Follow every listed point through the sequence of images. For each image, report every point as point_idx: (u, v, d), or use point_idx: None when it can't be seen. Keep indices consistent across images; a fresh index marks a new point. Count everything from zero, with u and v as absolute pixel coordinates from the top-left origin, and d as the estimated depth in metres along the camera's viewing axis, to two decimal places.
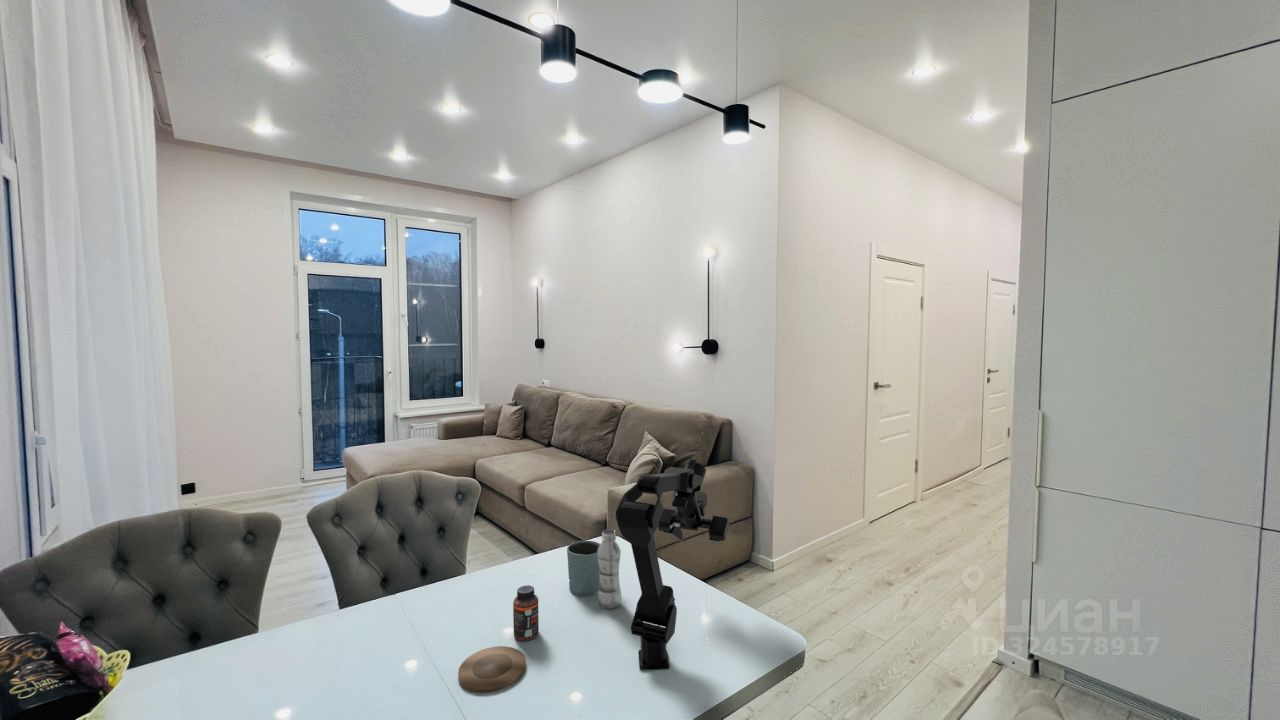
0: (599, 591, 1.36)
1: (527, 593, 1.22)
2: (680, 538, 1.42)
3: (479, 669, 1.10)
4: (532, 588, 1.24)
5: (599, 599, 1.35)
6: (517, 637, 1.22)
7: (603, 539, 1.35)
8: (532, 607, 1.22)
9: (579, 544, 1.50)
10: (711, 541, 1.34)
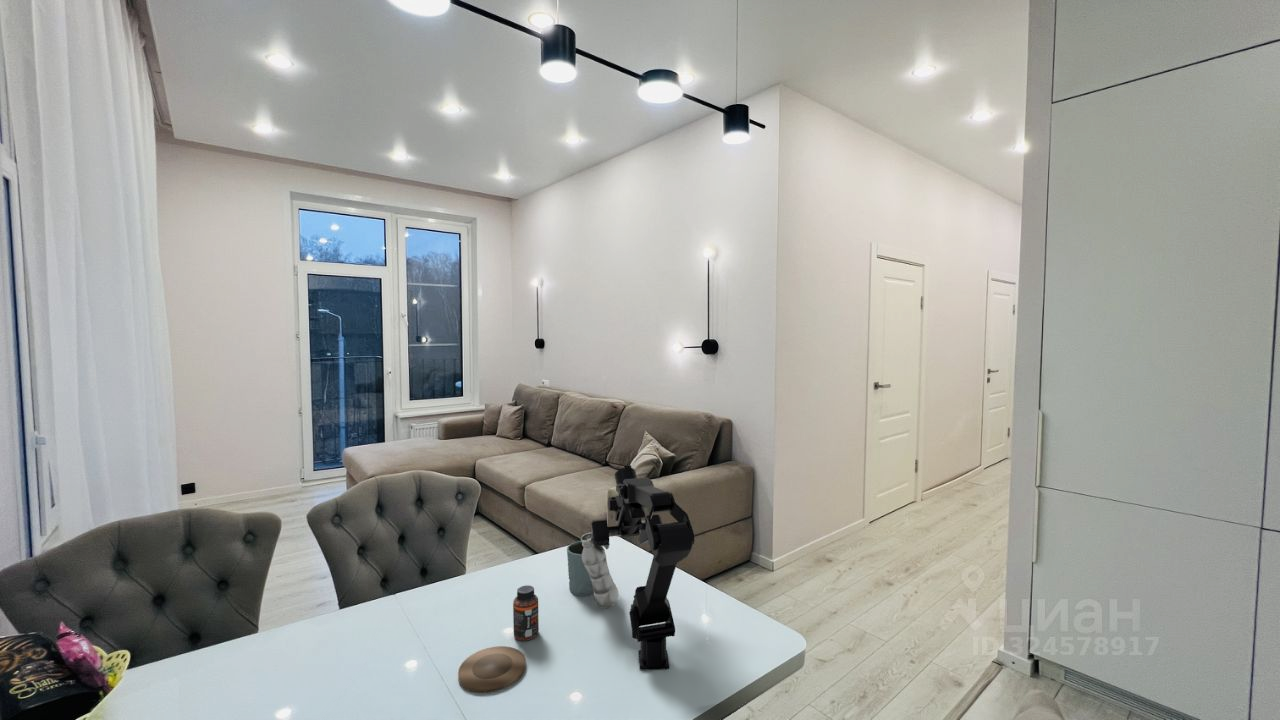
0: (594, 593, 1.35)
1: (527, 593, 1.22)
2: None
3: (479, 669, 1.10)
4: (532, 588, 1.24)
5: (596, 601, 1.35)
6: (517, 637, 1.22)
7: (583, 545, 1.33)
8: (532, 607, 1.22)
9: (579, 544, 1.50)
10: (647, 541, 1.36)
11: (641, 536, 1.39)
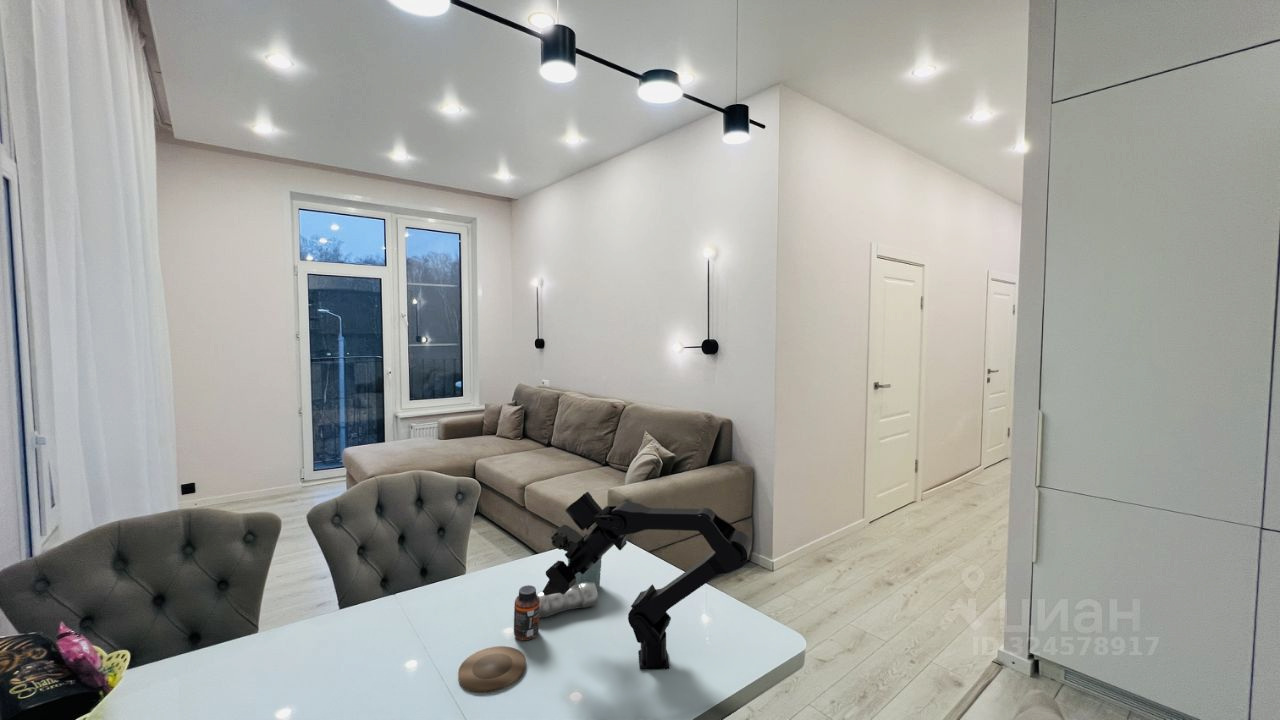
0: (582, 605, 1.34)
1: (530, 594, 1.21)
2: None
3: (479, 669, 1.10)
4: (534, 588, 1.24)
5: (590, 604, 1.35)
6: (518, 637, 1.22)
7: None
8: (535, 607, 1.22)
9: None
10: None
11: None
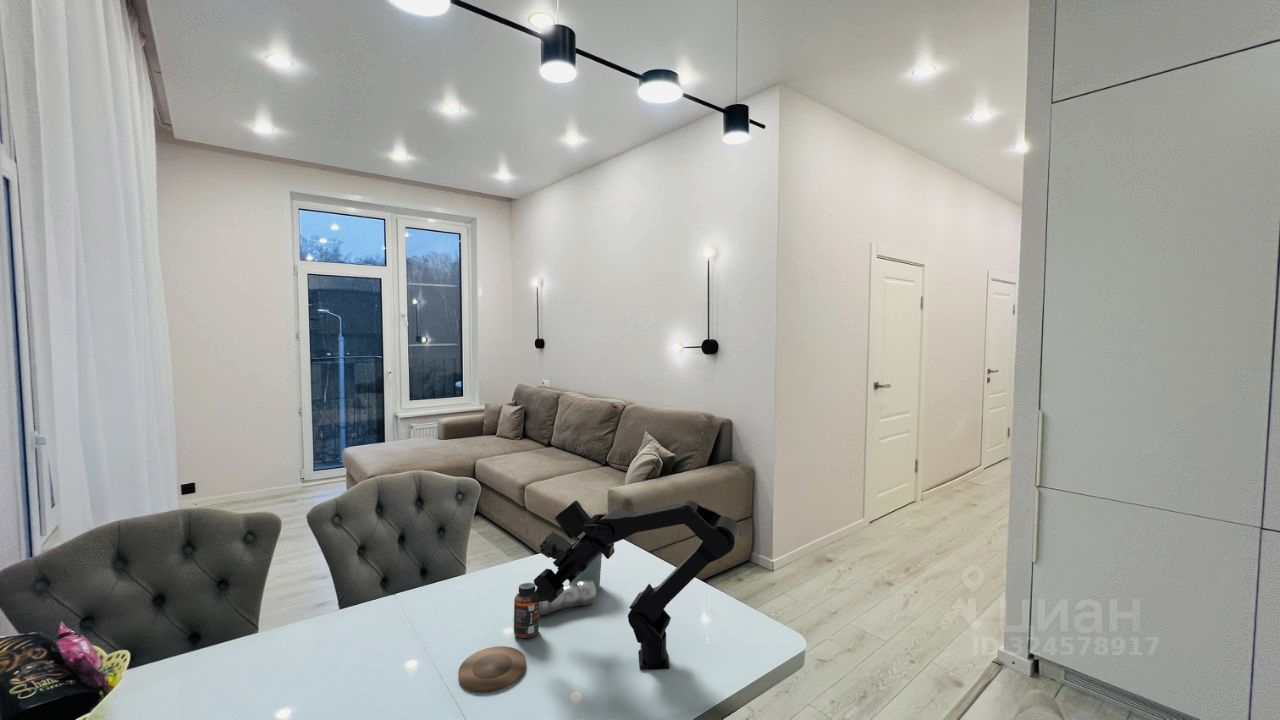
0: (581, 600, 1.35)
1: (530, 588, 1.23)
2: None
3: (479, 669, 1.10)
4: (533, 584, 1.26)
5: (588, 597, 1.35)
6: (519, 635, 1.22)
7: None
8: None
9: None
10: None
11: None
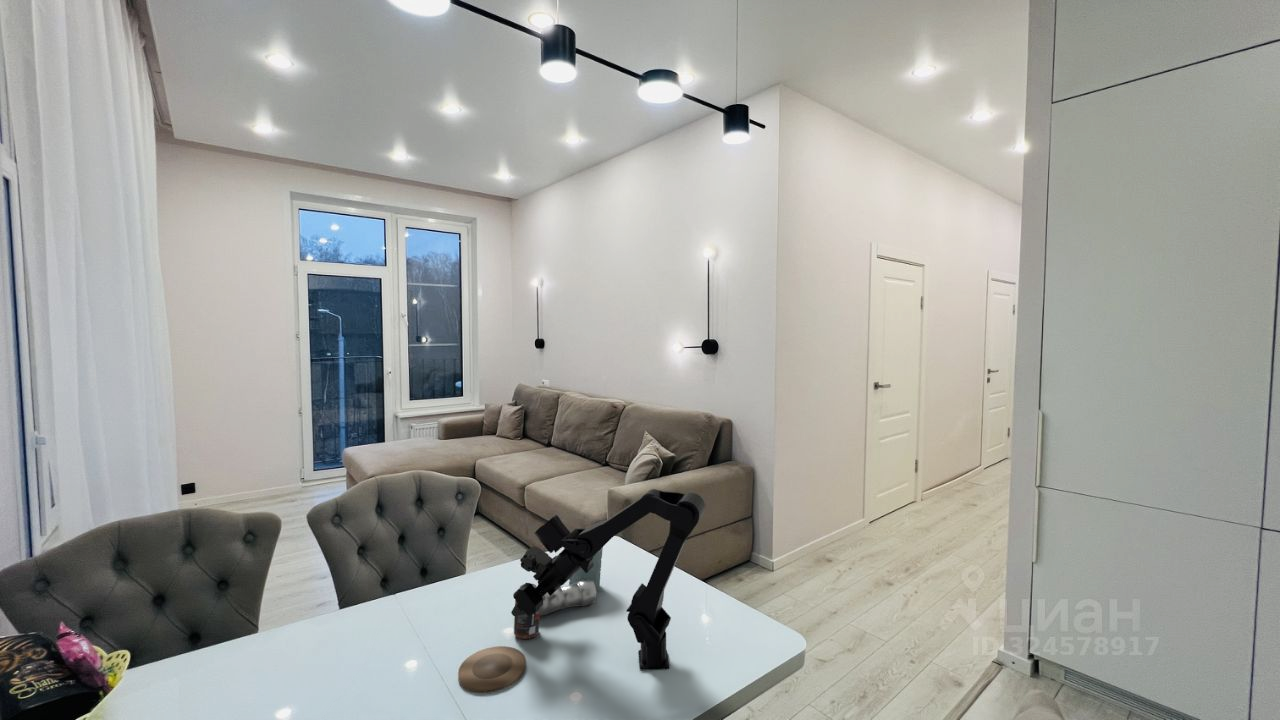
0: (581, 601, 1.35)
1: None
2: None
3: (479, 669, 1.10)
4: (534, 585, 1.25)
5: (588, 598, 1.35)
6: (520, 636, 1.22)
7: None
8: None
9: None
10: None
11: None
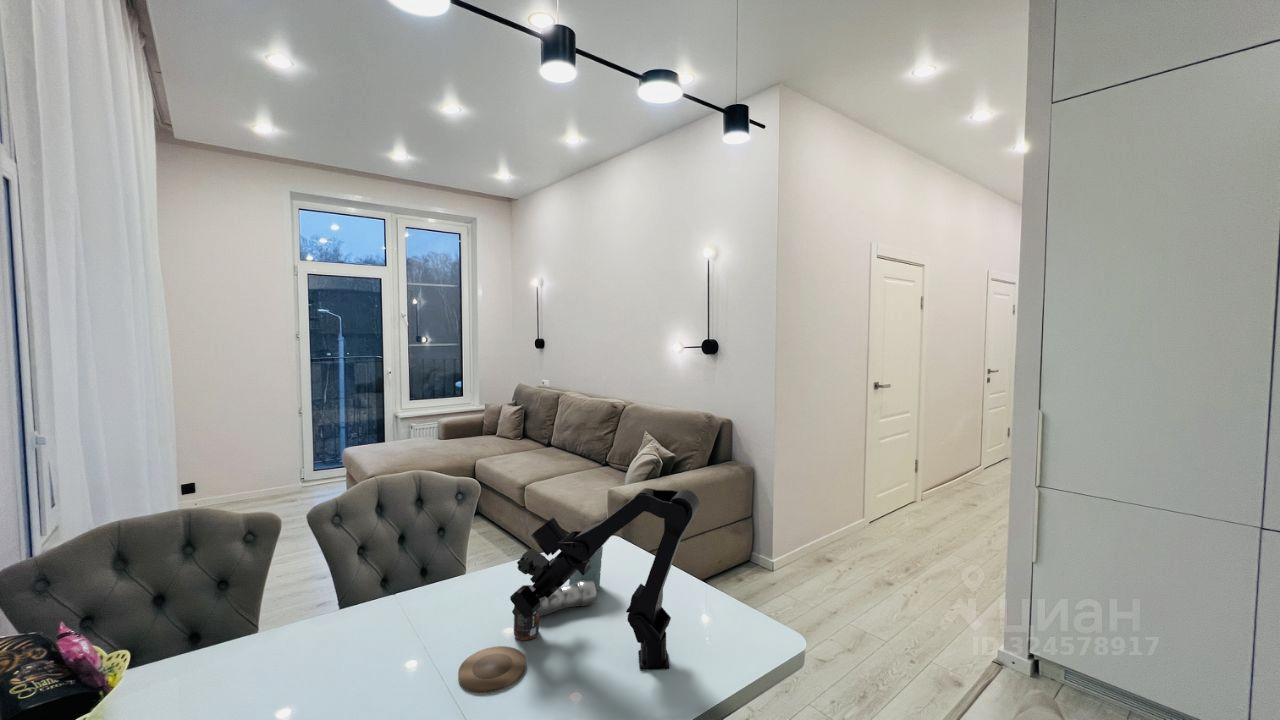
0: (581, 601, 1.35)
1: None
2: None
3: (479, 669, 1.10)
4: None
5: (589, 598, 1.35)
6: (521, 637, 1.21)
7: None
8: None
9: None
10: None
11: None
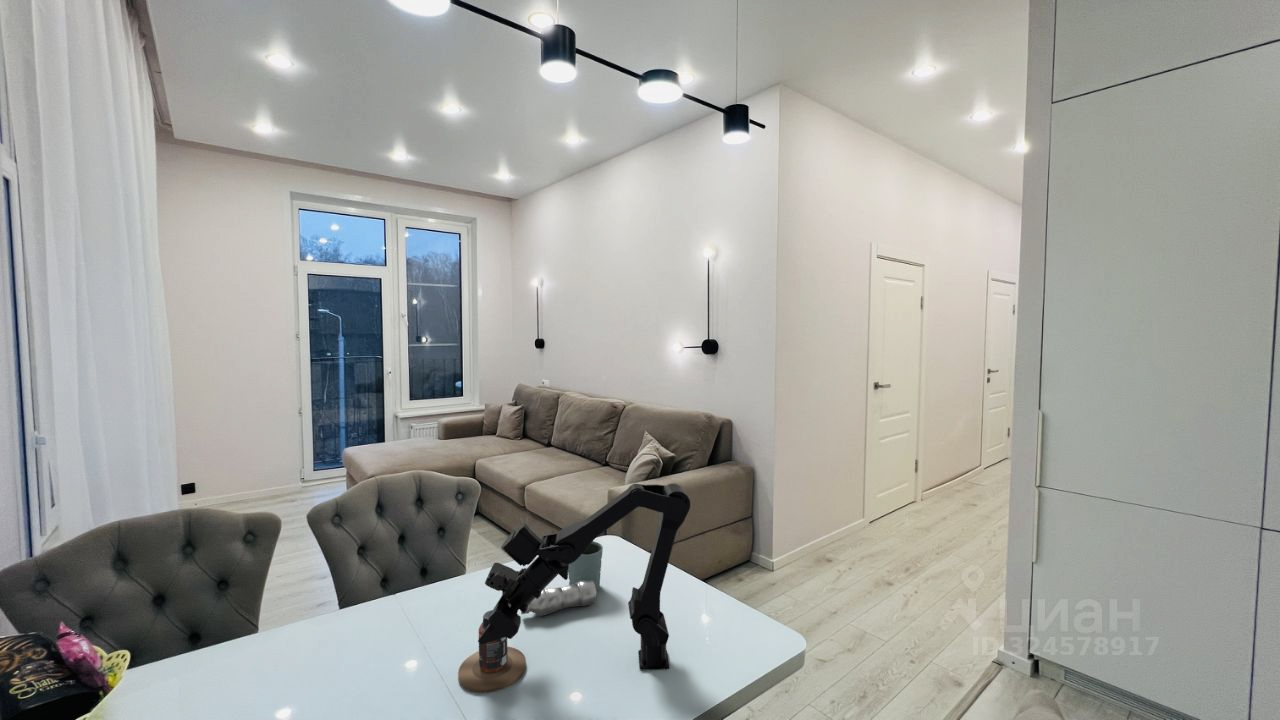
0: (581, 601, 1.35)
1: None
2: None
3: (479, 669, 1.10)
4: None
5: (589, 598, 1.35)
6: (492, 670, 1.08)
7: (527, 608, 1.30)
8: None
9: None
10: None
11: None
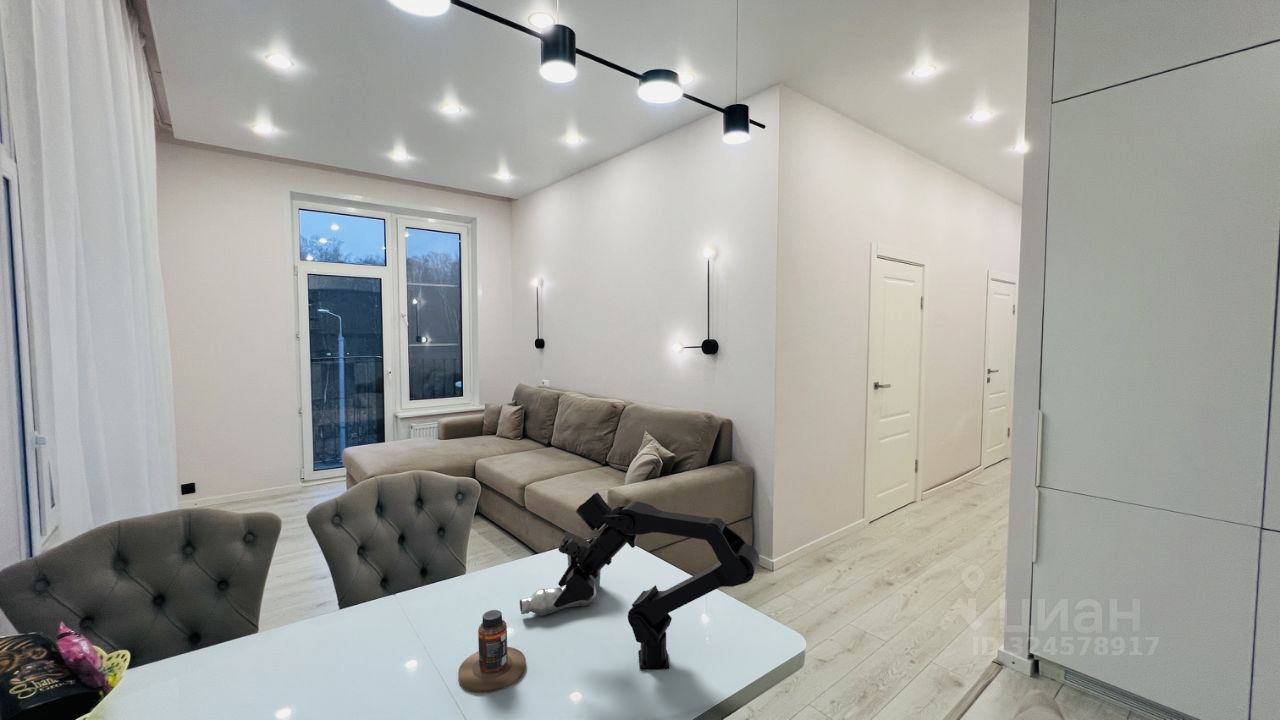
0: (581, 601, 1.35)
1: (499, 616, 1.10)
2: None
3: (479, 669, 1.10)
4: (498, 611, 1.12)
5: None
6: (492, 670, 1.08)
7: (527, 608, 1.30)
8: (506, 629, 1.11)
9: None
10: None
11: None
